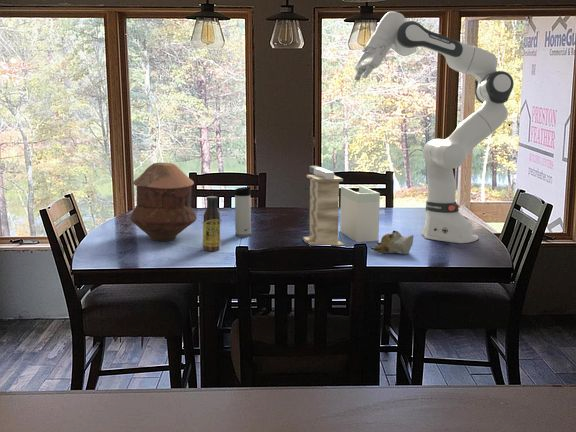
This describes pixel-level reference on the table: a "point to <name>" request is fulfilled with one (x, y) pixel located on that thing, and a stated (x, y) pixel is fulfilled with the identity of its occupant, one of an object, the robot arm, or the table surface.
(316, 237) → the birch pedestal
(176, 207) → the pottery vessel
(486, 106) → the robot arm
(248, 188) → the travel mug
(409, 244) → the ceramic sculpture
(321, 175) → the aluminium bar
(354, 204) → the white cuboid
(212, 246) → the sauce bottle
